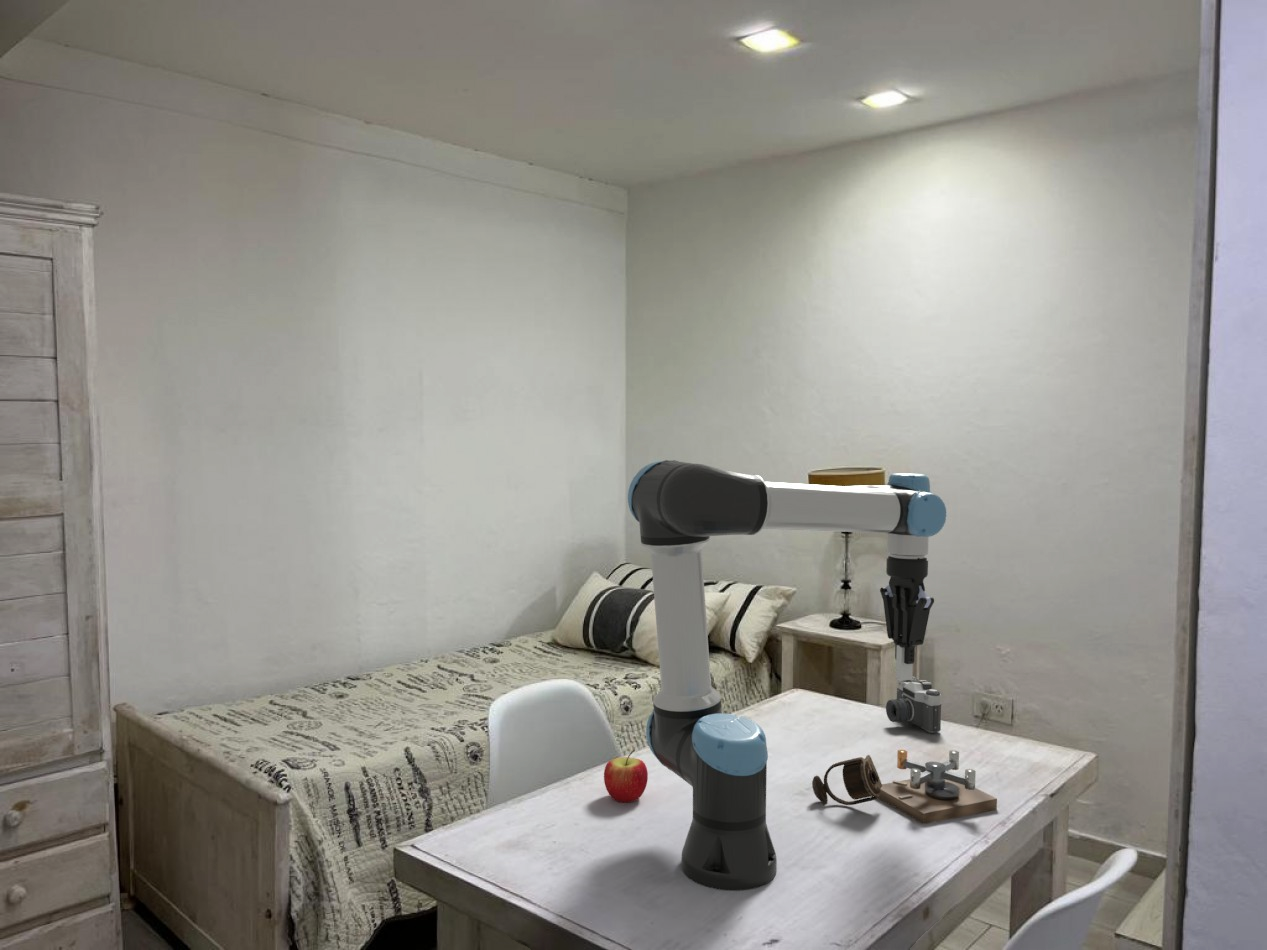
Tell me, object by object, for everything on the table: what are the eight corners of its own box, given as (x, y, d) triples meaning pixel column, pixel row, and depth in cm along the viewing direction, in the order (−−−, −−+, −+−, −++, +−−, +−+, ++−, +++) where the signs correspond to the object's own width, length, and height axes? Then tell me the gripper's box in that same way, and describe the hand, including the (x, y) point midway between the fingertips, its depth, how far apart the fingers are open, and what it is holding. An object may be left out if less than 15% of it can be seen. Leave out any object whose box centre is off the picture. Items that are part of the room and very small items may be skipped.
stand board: (923, 824, 173) (923, 811, 173) (873, 795, 186) (873, 783, 186) (996, 809, 180) (997, 797, 179) (943, 782, 193) (944, 770, 192)
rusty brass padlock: (883, 820, 175) (884, 765, 174) (811, 813, 177) (812, 760, 177) (881, 804, 182) (882, 752, 181) (811, 798, 184) (812, 747, 184)
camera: (872, 714, 236) (873, 674, 235) (910, 711, 238) (911, 671, 238) (905, 735, 221) (906, 692, 220) (945, 731, 223) (946, 689, 223)
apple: (639, 811, 178) (640, 758, 178) (596, 805, 181) (596, 752, 181) (653, 794, 186) (653, 743, 186) (612, 789, 189) (612, 738, 188)
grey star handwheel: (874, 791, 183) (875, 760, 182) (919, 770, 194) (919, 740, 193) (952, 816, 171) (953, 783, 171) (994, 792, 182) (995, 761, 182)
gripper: (947, 559, 178) (943, 686, 179) (901, 550, 190) (897, 669, 191) (914, 561, 175) (910, 690, 176) (869, 551, 187) (866, 672, 188)
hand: (904, 679), depth 184 cm, fingers closed
